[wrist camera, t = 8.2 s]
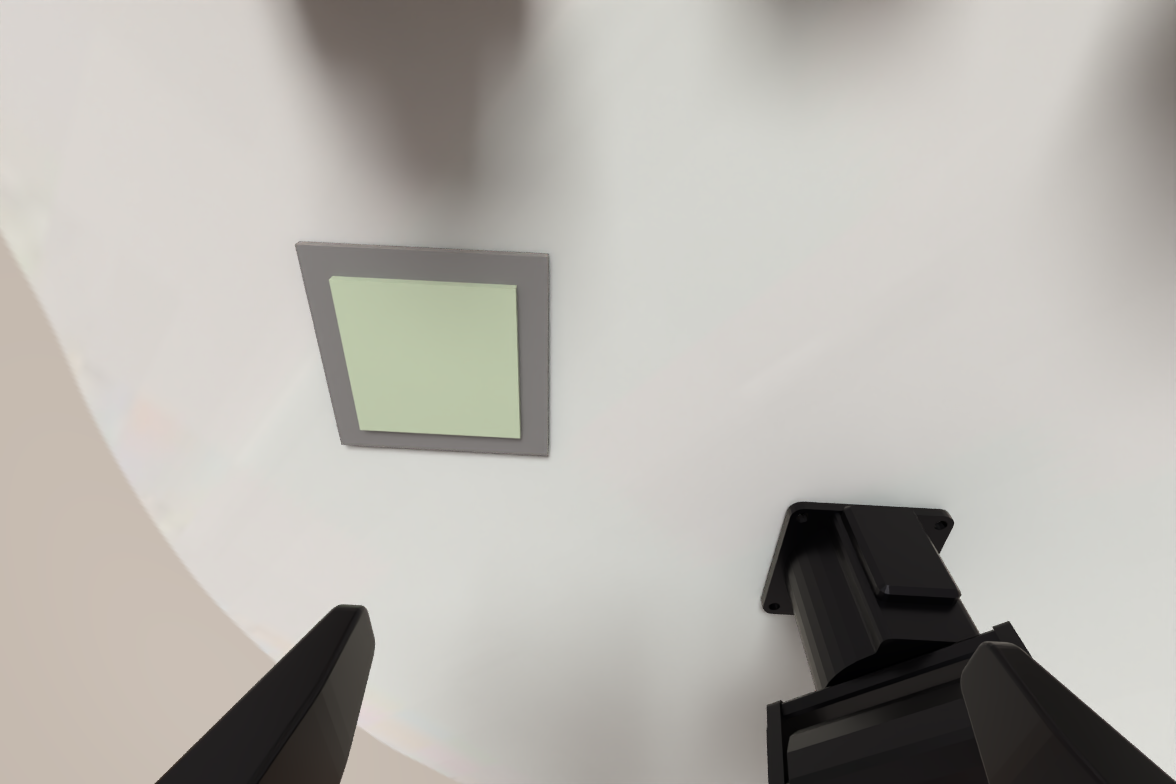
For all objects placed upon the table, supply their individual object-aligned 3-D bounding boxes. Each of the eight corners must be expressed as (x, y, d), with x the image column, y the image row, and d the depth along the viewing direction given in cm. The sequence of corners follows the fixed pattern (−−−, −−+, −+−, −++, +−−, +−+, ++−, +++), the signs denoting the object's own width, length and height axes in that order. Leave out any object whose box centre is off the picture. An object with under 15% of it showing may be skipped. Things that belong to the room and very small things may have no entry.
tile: (548, 450, 24) (546, 460, 23) (344, 439, 24) (338, 449, 23) (548, 253, 19) (547, 260, 19) (299, 241, 19) (290, 247, 19)
